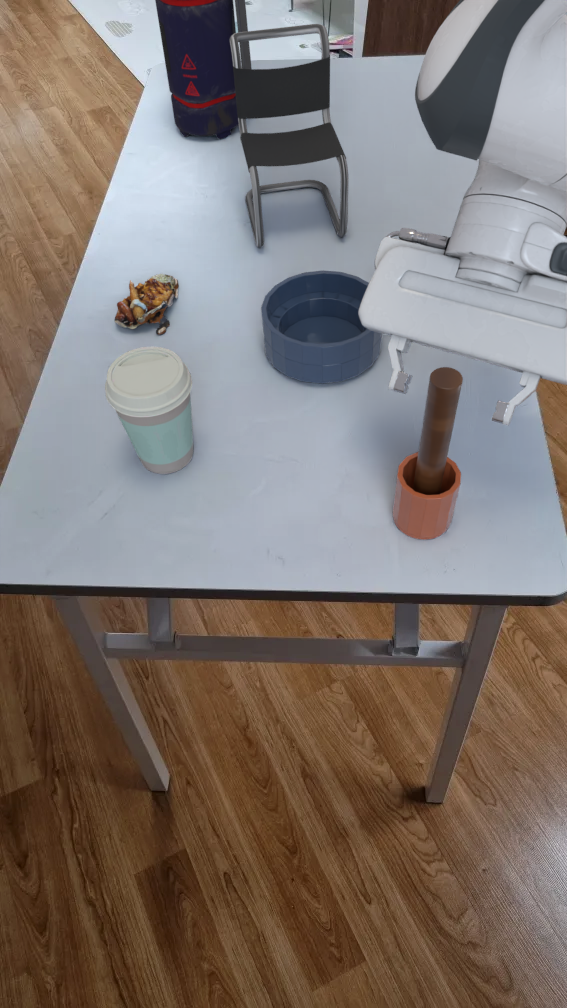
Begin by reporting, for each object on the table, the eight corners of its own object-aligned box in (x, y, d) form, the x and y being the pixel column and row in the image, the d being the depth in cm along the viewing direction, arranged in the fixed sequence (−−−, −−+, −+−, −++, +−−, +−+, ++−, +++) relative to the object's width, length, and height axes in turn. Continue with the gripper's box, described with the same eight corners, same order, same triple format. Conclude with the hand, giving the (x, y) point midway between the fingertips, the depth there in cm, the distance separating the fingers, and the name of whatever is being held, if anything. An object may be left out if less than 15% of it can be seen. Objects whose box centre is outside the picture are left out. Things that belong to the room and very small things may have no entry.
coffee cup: (217, 434, 80) (203, 351, 71) (186, 492, 75) (166, 410, 66) (148, 419, 82) (125, 335, 73) (114, 474, 77) (84, 392, 68)
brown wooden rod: (436, 504, 72) (463, 368, 58) (434, 525, 71) (462, 390, 57) (410, 501, 73) (431, 365, 58) (408, 521, 71) (428, 387, 57)
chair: (324, 182, 112) (324, 21, 95) (348, 244, 102) (352, 75, 84) (242, 192, 112) (227, 32, 94) (257, 256, 101) (243, 88, 84)
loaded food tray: (185, 279, 98) (181, 255, 96) (166, 336, 91) (161, 312, 88) (135, 277, 99) (130, 254, 96) (112, 333, 92) (105, 310, 89)
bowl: (386, 315, 92) (390, 275, 87) (373, 392, 83) (376, 352, 78) (277, 306, 94) (275, 266, 89) (253, 380, 85) (249, 340, 81)
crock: (452, 496, 73) (462, 454, 68) (449, 544, 70) (459, 503, 65) (395, 489, 74) (401, 447, 69) (389, 536, 71) (394, 495, 66)
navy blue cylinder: (166, 140, 123) (129, -79, 99) (187, 108, 130) (157, -104, 106) (244, 145, 121) (225, -78, 97) (261, 113, 128) (247, -103, 104)
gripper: (378, 212, 61) (329, 371, 64) (628, 268, 55) (563, 442, 57) (393, 232, 67) (348, 377, 69) (621, 285, 61) (562, 442, 63)
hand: (447, 407), depth 63 cm, fingers open, 8 cm apart
